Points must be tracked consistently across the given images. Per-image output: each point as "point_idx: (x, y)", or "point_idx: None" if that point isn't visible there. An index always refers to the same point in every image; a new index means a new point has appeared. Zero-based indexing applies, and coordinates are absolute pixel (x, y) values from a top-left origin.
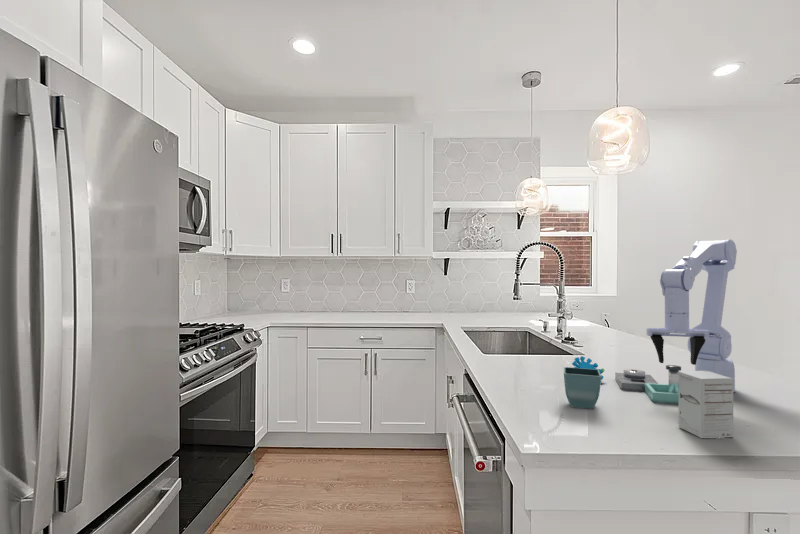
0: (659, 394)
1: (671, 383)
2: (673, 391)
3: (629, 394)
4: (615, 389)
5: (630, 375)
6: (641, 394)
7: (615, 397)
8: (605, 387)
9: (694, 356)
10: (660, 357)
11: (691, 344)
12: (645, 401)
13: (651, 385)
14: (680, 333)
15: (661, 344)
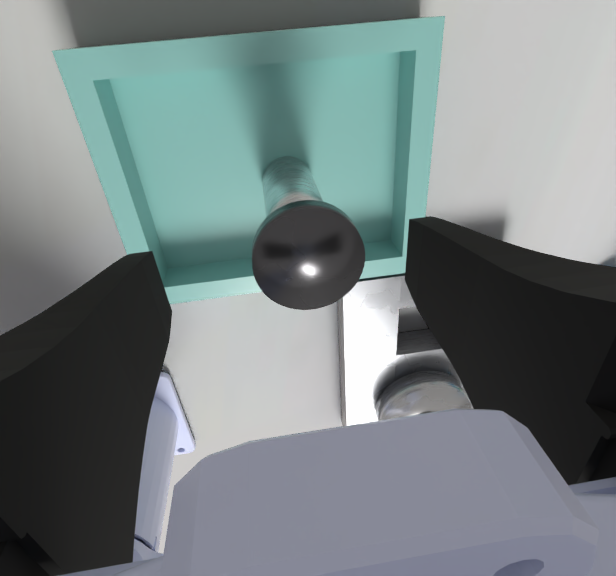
0: (397, 20)
1: (310, 184)
2: (294, 165)
3: (495, 160)
4: (529, 236)
5: (447, 379)
6: (433, 186)
7: (599, 51)
8: (562, 255)
9: (112, 283)
10: (462, 227)
11: (120, 474)
12: (457, 17)
13: (389, 254)
14: (368, 424)
15: (571, 278)
